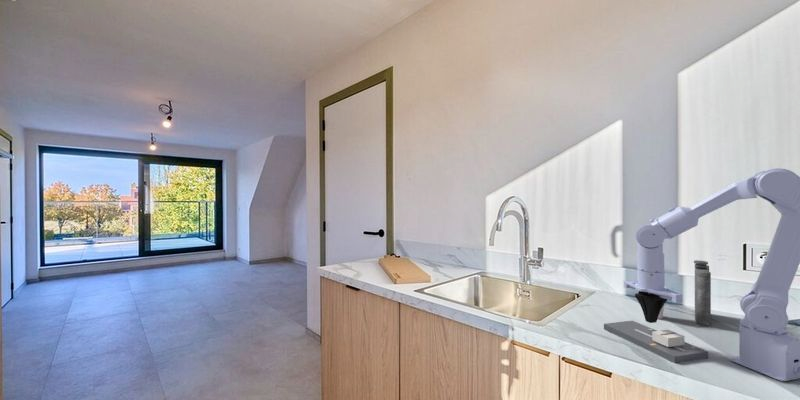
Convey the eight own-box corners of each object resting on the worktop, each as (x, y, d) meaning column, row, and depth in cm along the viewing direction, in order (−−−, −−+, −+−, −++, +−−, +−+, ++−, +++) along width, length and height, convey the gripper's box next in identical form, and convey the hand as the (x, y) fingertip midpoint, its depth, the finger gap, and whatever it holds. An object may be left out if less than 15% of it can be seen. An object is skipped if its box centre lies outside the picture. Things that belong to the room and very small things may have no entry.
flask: (694, 324, 98) (693, 264, 98) (693, 311, 109) (693, 256, 109) (710, 327, 96) (710, 265, 96) (709, 313, 107) (709, 258, 106)
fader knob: (684, 344, 81) (684, 335, 81) (668, 347, 80) (668, 337, 80) (668, 338, 85) (668, 329, 85) (652, 340, 84) (652, 331, 84)
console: (708, 357, 79) (708, 351, 78) (674, 362, 76) (674, 356, 76) (632, 325, 98) (632, 320, 98) (603, 328, 96) (603, 323, 96)
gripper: (614, 265, 93) (615, 313, 93) (665, 277, 79) (666, 334, 79) (635, 264, 95) (635, 311, 95) (689, 275, 80) (689, 331, 81)
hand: (651, 321), depth 87 cm, fingers closed
